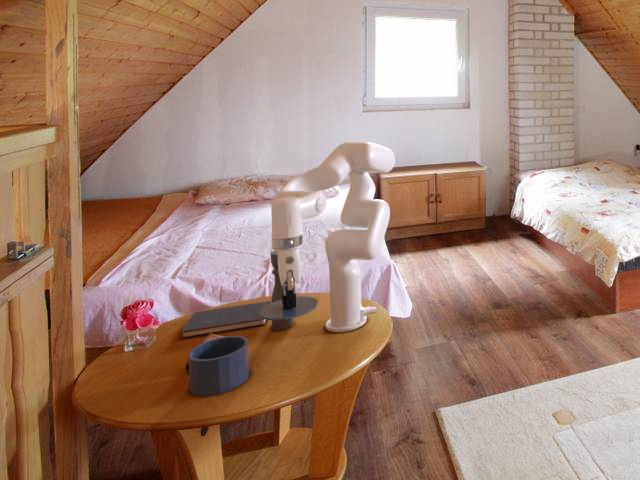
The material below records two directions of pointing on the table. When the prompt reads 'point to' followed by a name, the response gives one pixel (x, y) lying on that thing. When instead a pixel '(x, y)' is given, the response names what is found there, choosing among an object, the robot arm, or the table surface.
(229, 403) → the table surface
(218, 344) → the blue pot
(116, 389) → the table surface
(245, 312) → the hardcover book
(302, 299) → the lid
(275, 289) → the candle holder
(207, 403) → the table surface
